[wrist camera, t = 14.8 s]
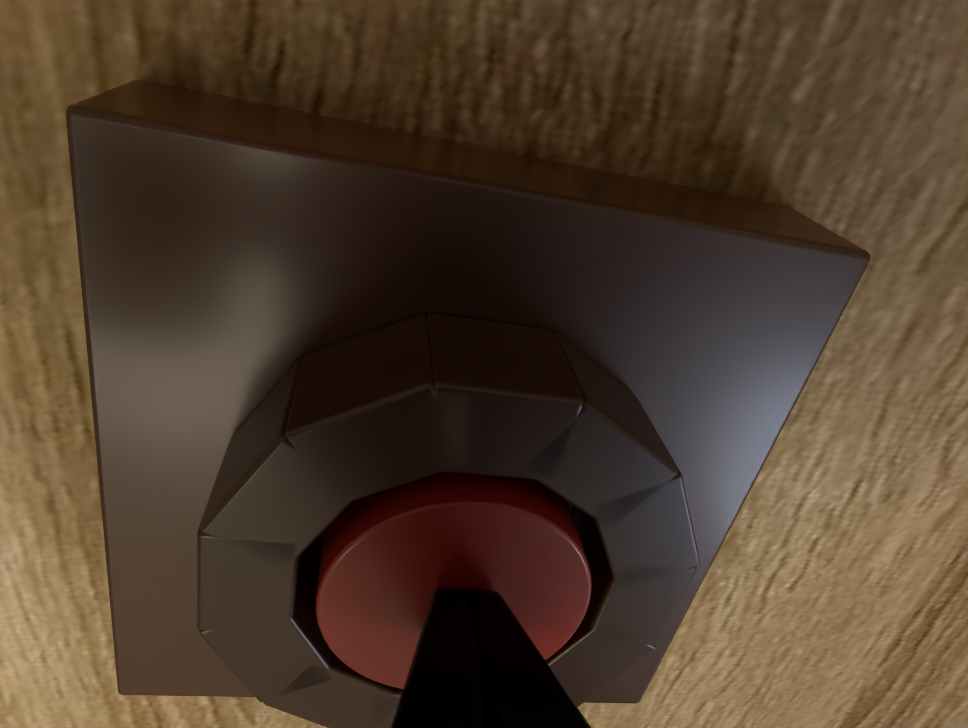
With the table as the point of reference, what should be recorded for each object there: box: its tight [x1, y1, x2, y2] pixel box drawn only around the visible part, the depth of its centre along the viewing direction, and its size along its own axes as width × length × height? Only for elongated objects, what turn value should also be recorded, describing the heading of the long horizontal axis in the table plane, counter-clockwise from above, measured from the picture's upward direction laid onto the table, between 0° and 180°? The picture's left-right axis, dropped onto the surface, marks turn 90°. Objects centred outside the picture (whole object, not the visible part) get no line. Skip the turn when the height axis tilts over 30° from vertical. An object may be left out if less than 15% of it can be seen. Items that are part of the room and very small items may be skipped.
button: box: [316, 471, 592, 689], centre depth 9 cm, size 4×4×2 cm
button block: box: [66, 80, 871, 728], centre depth 10 cm, size 10×10×4 cm
